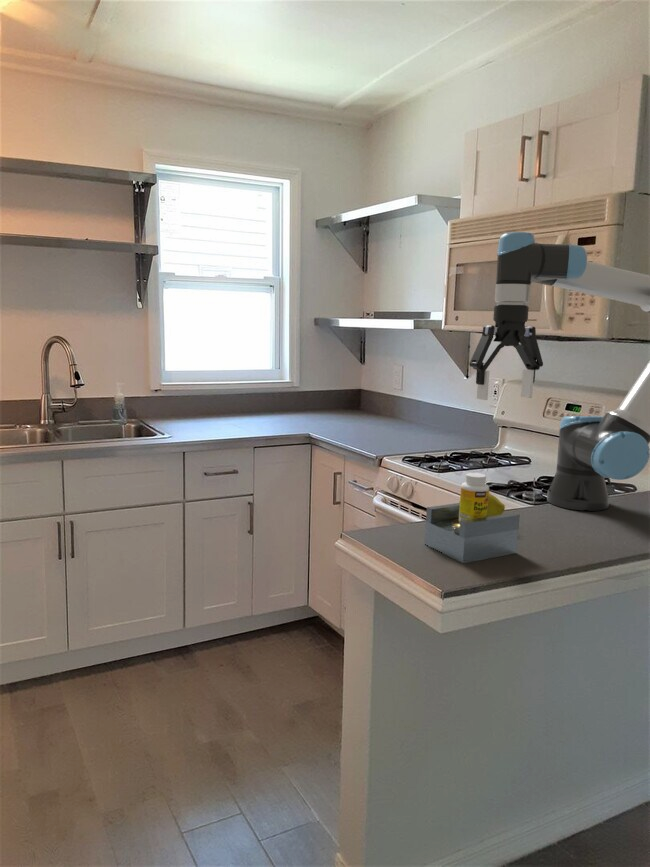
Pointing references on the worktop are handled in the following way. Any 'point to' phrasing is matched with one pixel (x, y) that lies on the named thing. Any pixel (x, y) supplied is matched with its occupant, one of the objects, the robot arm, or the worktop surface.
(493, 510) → the lemon
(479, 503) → the supplement bottle
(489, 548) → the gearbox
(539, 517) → the worktop surface
